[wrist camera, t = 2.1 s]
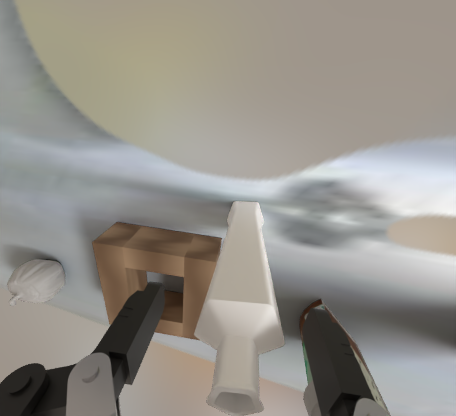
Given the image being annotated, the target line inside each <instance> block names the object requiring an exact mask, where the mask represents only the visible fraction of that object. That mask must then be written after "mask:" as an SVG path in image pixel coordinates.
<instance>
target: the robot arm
mask: <svg viewBox="0 0 456 416" xmlns="http://www.w3.org/2000/svg"><path fill="white" fill-rule="evenodd" d="M164 305H165V294H164V284H163V283H157V282H149V283H148V284H147V286H146V288H145V289H144V291H139V290H137V291H136V292H135V293H134V294H132V295H131V296H130V297H129V298H128V299H127V301H126V302H125V304H124V305H123V307H122V309H121V310H120V312H119V313H118V315H117V317H116V318H115V319H114V321H113V322H112V324H111V326H110V327H109V329H108V330H107V332H106V334H105V335H104V336H103V338H102V340H101V341H100V343H99V344H98V346H97V347H96V349H95V350H94V351H93V352H92V353H91V354H90V355H88V356H86V357H85V358H83V359H82V360H81V361H79V362H78V363H77V364H74V365H70V366H66V367H60V368H55V369H50V370H45V368H44V366H43V365H41V364H38V363H34V364H28V365H25V366H23V367H21V368H19V369H17V370H15V371H14V372H12V373H11V374H10V375H8V376H7V377H6V378H5V379H4V380H3V381H2V382H1V384H0V416H121V410H120V402H119V395H120V393H121V390H122V388H123V386H124V384H130V385H132V383H133V381H134V379H135V376H136V374H137V372H138V369H139V367H140V364H141V362H142V360H143V358H144V355H145V353H146V350H147V348H148V346H149V343H150V341H151V339H152V337H153V334H154V332H155V330H156V327H157V325H158V323H159V320H160V318H161V316H162V313H163V310H164ZM302 336H303V341H304V345H305V349H306V354H307V358H308V362H309V366H310V370H311V375H312V379H313V383H314V387H315V391H316V396H317V400H318V404H319V408H320V412H321V416H390V415H389V414H388V413H387V411H386V410H385V409H384V408H383V407H382V406H380V405H379V404H378V403H377V402H376V401H375V399H374V397H373V395H372V393H371V391H370V388H369V386H368V384H367V381H366V379H365V377H364V374H363V372H362V370H361V368H360V365H359V363H358V361H357V358H356V357H355V354H354V352H353V349H352V347H351V345H350V342H349V340H348V338H347V335H346V333H345V332H344V331H343V330H342V328H341V327H340V326H339V324H338V323H335V322H332V320H331V318H330V315H329V313H328V311H327V310H324V309H317V308H310V310H309V313H308V315H307V317H306V320H305V322H304V324H303V328H302Z"/></svg>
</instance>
